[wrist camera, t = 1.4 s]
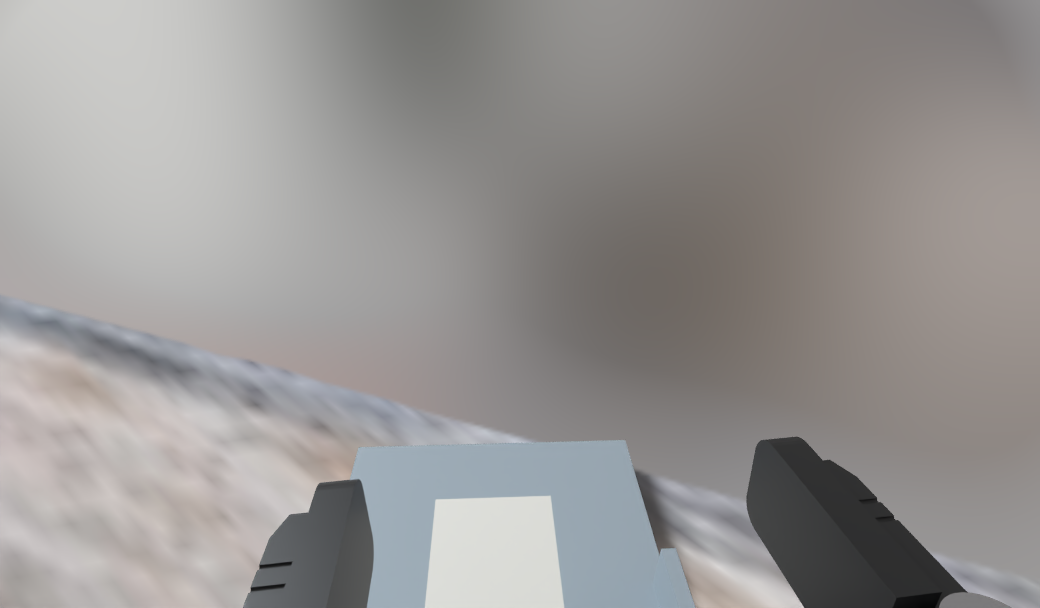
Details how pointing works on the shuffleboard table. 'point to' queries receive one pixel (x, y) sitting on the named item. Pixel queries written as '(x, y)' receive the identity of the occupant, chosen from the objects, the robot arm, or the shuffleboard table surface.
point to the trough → (519, 473)
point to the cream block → (494, 554)
